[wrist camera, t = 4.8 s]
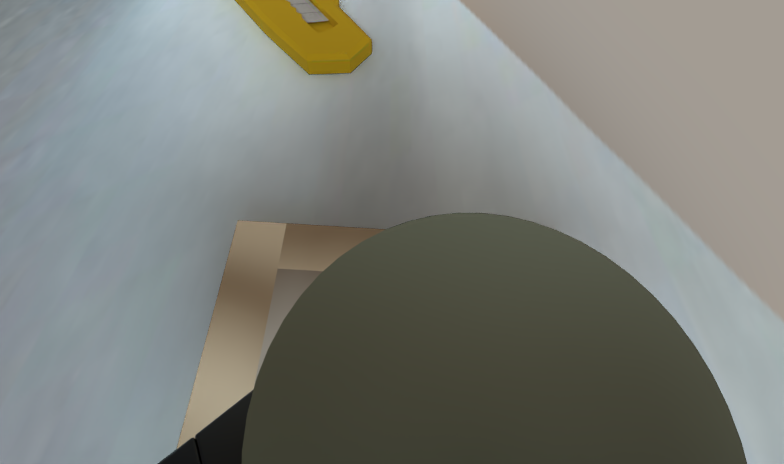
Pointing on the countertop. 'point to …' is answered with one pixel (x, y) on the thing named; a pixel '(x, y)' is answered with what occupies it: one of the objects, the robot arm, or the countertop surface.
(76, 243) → the countertop surface
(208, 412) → the wooden frame
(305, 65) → the utility knife
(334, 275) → the grey-green cylinder
